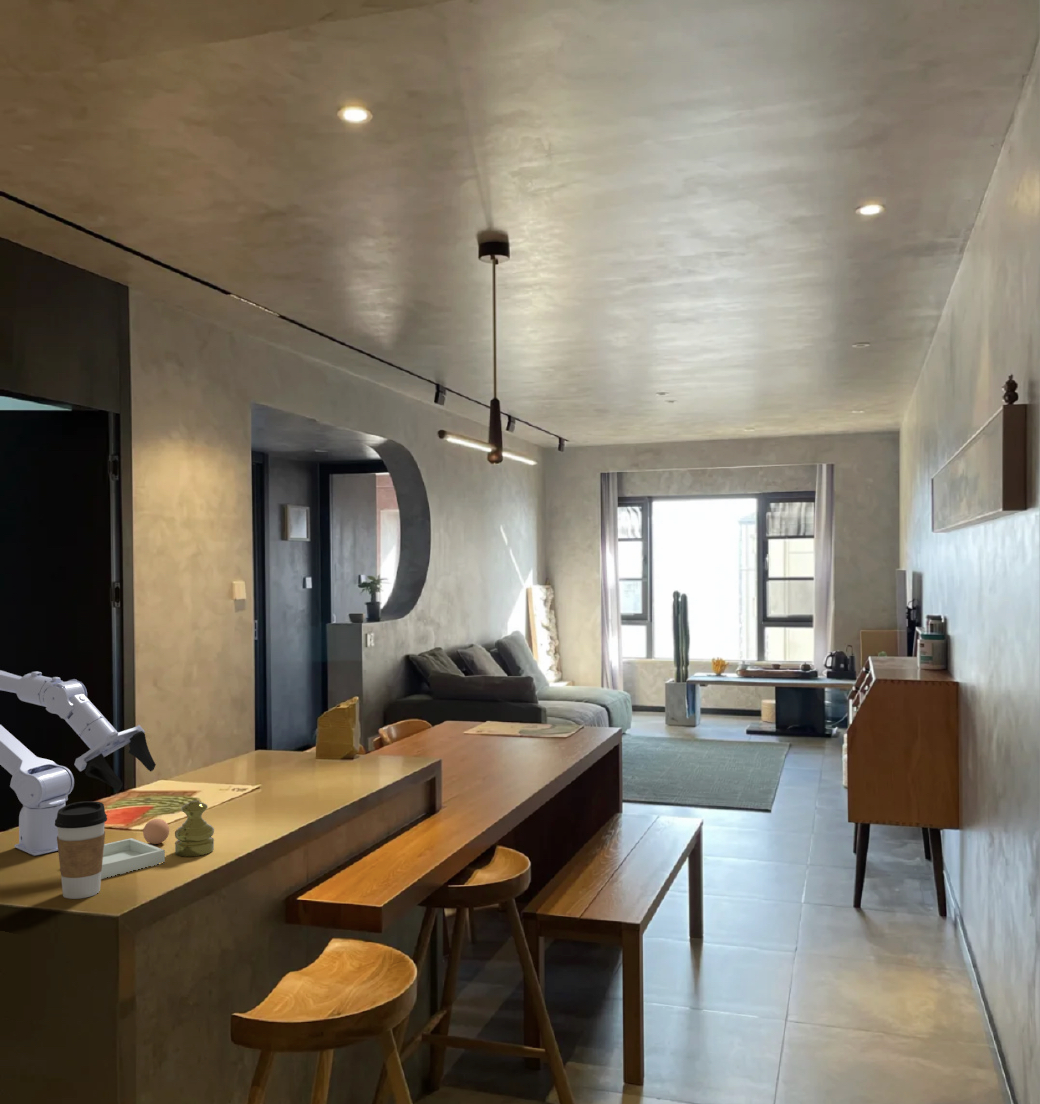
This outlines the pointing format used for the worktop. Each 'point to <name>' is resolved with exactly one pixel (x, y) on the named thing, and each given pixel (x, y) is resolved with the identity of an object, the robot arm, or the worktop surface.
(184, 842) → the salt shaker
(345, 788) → the worktop surface
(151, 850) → the tray
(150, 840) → the ball
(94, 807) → the coffee cup
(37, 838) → the robot arm
